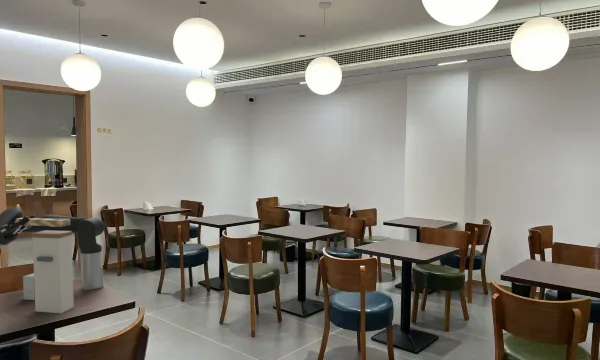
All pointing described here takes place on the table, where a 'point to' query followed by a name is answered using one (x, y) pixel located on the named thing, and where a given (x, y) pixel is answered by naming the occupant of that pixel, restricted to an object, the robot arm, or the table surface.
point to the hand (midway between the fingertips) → (31, 217)
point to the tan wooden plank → (47, 222)
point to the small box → (29, 287)
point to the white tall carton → (53, 271)
